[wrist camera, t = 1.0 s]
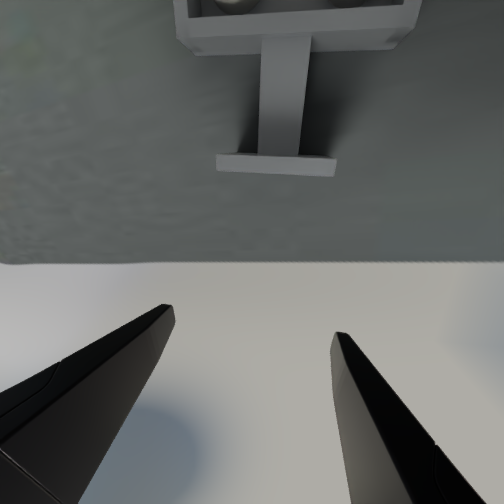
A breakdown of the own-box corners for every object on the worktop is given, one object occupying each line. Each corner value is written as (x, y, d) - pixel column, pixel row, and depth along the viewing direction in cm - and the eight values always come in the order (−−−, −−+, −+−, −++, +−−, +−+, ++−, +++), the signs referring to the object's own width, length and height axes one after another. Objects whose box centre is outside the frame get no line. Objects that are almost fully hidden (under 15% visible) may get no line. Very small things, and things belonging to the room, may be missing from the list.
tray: (441, -149, 8) (565, -398, 5) (362, 170, 14) (388, 179, 10) (184, -108, 10) (116, -267, 6) (203, 163, 15) (173, 168, 12)
